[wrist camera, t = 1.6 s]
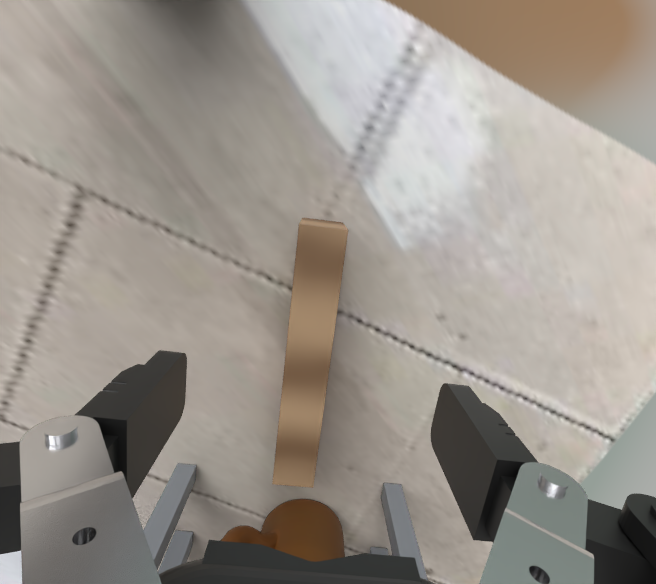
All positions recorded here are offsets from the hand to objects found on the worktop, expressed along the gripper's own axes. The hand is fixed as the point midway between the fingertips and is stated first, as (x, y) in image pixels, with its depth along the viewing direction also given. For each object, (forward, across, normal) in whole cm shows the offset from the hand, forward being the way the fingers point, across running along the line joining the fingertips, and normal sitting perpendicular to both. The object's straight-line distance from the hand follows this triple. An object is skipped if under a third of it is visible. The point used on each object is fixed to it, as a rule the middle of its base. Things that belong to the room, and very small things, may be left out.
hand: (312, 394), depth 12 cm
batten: (+18, 0, +6) cm, 19 cm away
